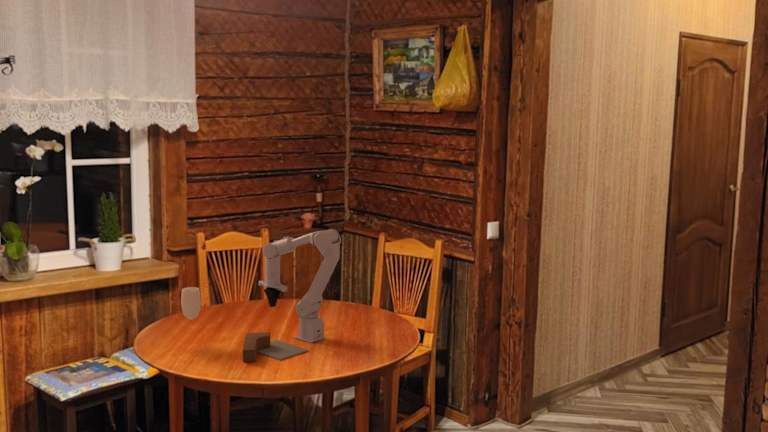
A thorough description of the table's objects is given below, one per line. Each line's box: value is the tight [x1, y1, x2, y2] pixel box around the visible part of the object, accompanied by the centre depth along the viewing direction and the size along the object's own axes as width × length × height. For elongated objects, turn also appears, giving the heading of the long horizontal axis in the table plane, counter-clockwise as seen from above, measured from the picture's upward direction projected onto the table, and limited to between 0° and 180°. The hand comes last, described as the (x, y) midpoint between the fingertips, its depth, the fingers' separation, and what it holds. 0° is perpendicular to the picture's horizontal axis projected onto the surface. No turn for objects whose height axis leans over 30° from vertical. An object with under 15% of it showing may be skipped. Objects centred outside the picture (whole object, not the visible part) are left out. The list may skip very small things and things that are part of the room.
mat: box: [257, 339, 309, 362], centre depth 281 cm, size 17×14×1 cm
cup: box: [180, 286, 202, 321], centre depth 286 cm, size 7×7×21 cm
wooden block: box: [242, 331, 271, 363], centre depth 276 cm, size 9×4×18 cm
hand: (272, 306), depth 301 cm, fingers closed
